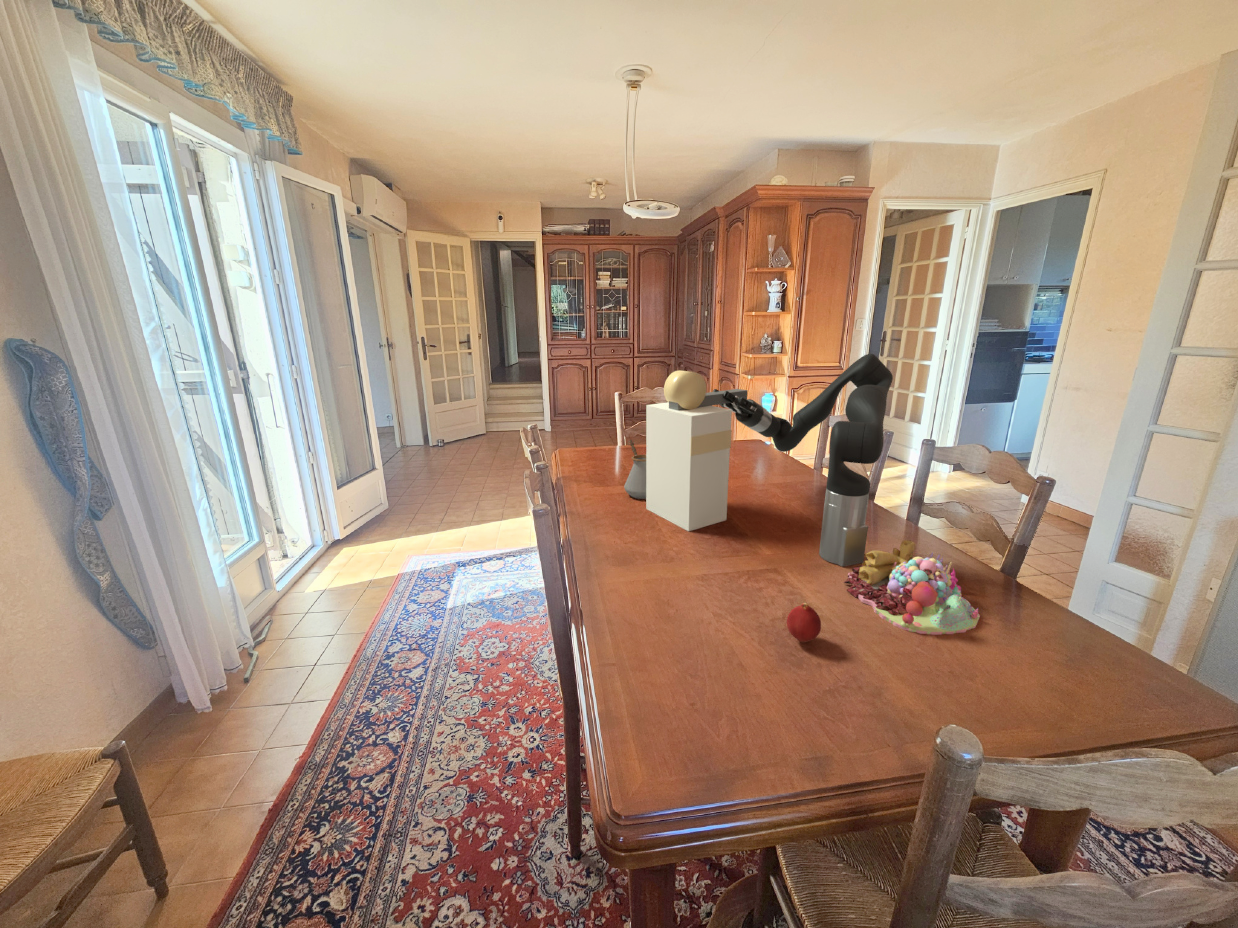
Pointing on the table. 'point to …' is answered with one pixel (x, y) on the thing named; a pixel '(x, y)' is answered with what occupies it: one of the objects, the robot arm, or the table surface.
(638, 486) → the coffee pot
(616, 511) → the table surface
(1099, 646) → the table surface
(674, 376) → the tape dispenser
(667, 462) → the tall box
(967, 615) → the candy landscape model
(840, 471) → the robot arm
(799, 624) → the onion
